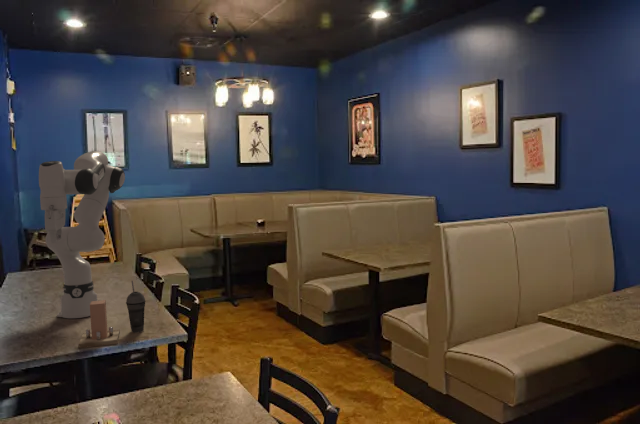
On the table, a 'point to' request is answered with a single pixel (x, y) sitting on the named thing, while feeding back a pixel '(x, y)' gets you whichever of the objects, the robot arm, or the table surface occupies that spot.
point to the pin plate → (99, 338)
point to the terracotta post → (98, 318)
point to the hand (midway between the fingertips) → (56, 241)
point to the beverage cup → (136, 310)
